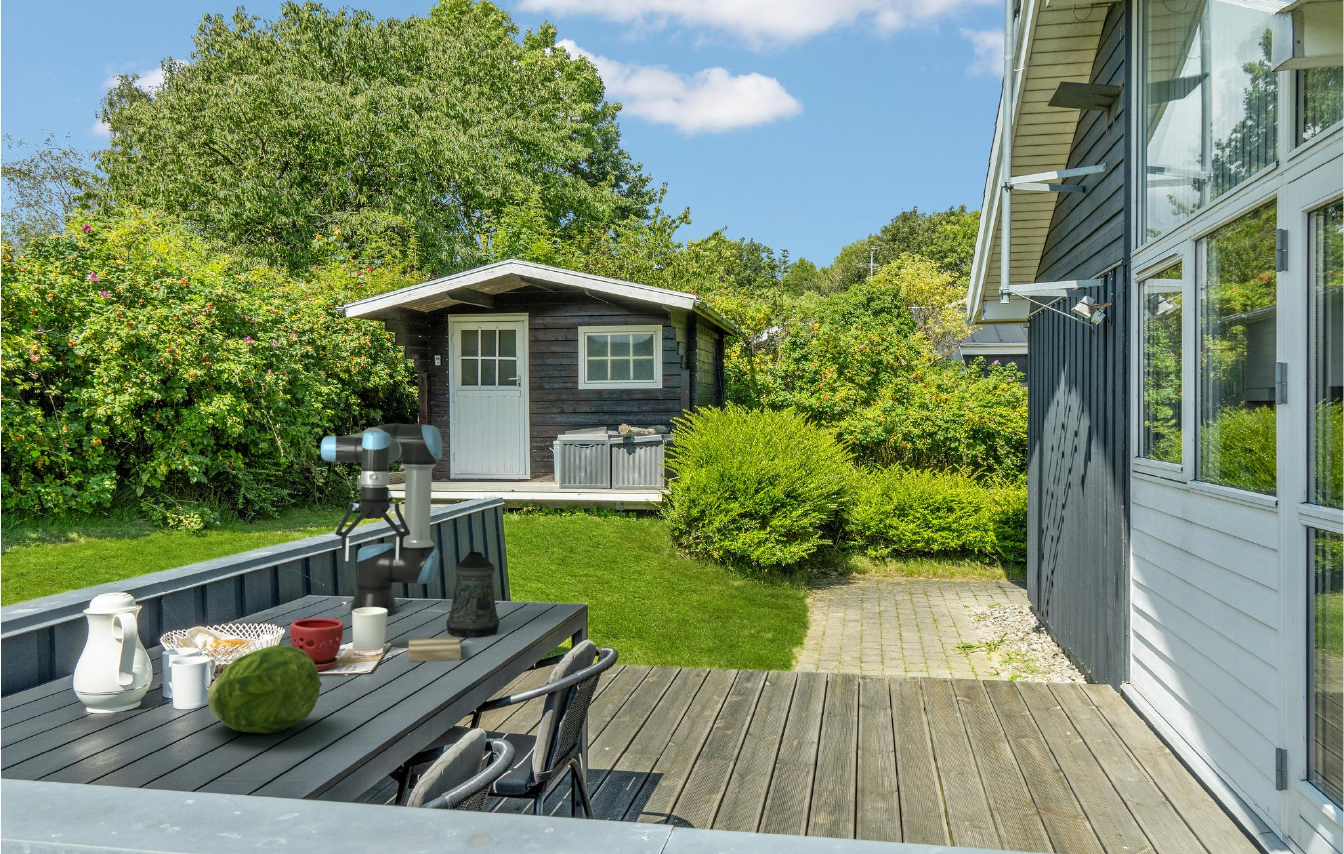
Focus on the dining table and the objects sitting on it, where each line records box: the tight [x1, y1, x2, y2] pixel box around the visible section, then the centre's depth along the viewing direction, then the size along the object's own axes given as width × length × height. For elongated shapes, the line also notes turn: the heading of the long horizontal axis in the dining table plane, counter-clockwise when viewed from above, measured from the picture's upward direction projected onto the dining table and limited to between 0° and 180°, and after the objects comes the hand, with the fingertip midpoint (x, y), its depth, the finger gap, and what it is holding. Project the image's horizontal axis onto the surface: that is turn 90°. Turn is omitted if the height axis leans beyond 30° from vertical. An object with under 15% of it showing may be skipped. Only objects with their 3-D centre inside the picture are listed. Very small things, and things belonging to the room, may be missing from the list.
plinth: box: [407, 636, 462, 663], centre depth 261 cm, size 14×14×3 cm
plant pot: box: [290, 618, 344, 672], centre depth 244 cm, size 13×13×12 cm
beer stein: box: [446, 551, 501, 639], centre depth 290 cm, size 16×19×25 cm
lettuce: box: [207, 644, 321, 735], centre depth 196 cm, size 19×23×18 cm
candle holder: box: [351, 607, 388, 651], centre depth 260 cm, size 10×10×12 cm
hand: (372, 560), depth 260 cm, fingers open, 13 cm apart
